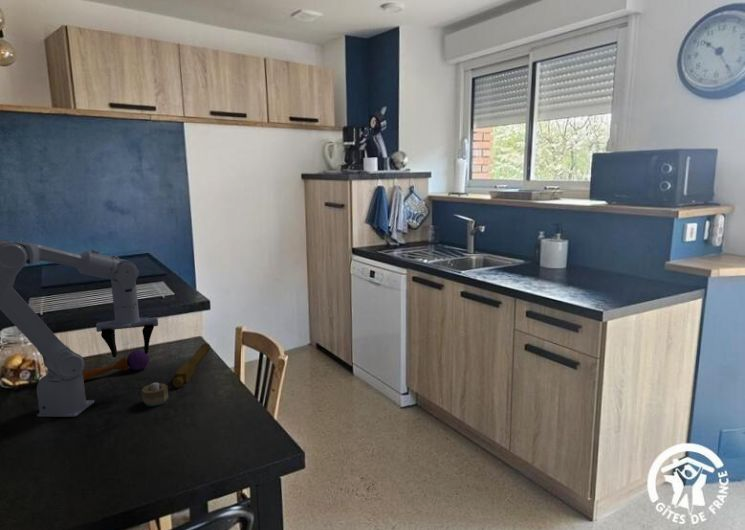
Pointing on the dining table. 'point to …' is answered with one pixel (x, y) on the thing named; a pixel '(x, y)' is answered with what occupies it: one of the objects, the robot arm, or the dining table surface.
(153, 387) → the toy mushroom
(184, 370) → the wooden baluster
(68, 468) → the dining table surface
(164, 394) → the ring
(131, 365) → the kendama
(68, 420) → the dining table surface
